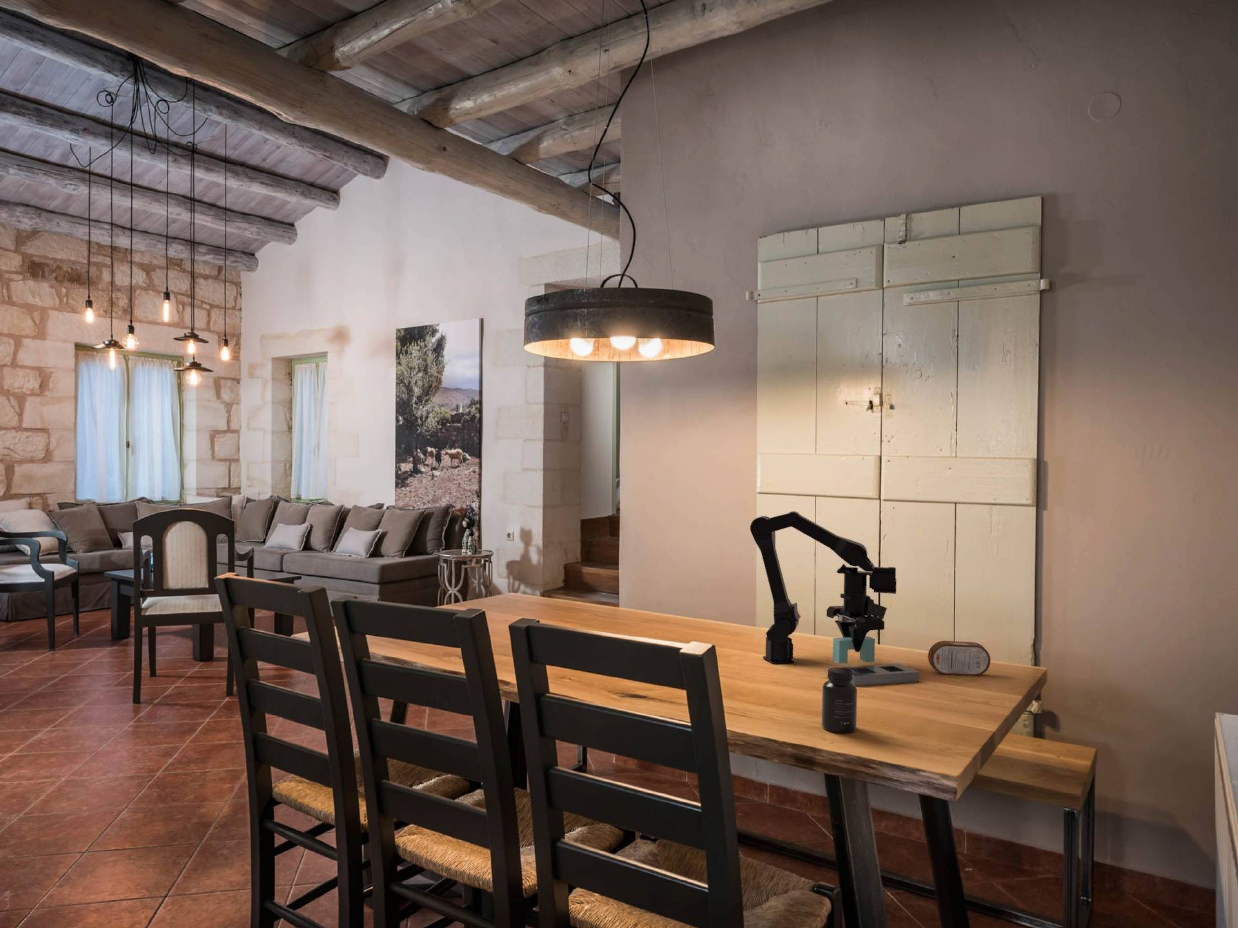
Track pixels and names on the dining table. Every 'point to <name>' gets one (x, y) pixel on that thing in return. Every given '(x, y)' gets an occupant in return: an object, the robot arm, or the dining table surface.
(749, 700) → the dining table surface
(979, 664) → the tin
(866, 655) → the teal u-shaped block
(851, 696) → the supplement bottle
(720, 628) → the dining table surface
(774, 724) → the dining table surface
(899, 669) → the plate with rectangular holes
